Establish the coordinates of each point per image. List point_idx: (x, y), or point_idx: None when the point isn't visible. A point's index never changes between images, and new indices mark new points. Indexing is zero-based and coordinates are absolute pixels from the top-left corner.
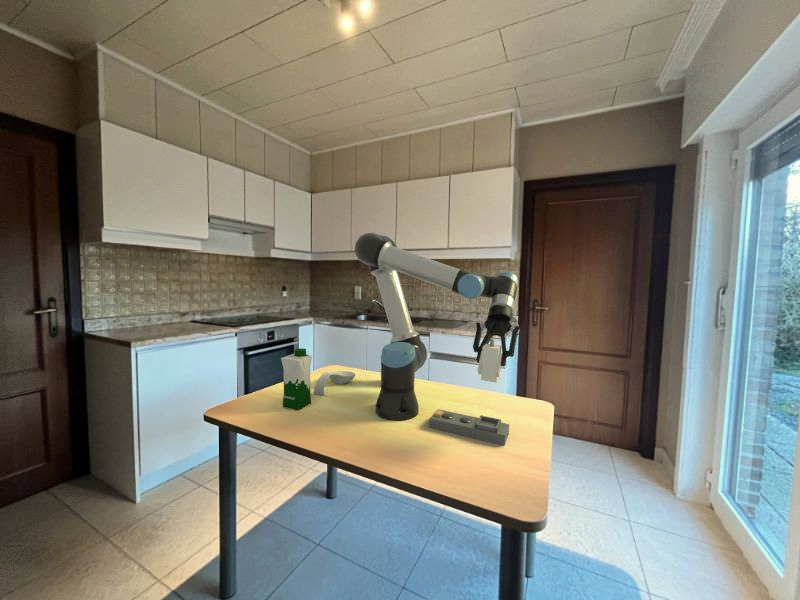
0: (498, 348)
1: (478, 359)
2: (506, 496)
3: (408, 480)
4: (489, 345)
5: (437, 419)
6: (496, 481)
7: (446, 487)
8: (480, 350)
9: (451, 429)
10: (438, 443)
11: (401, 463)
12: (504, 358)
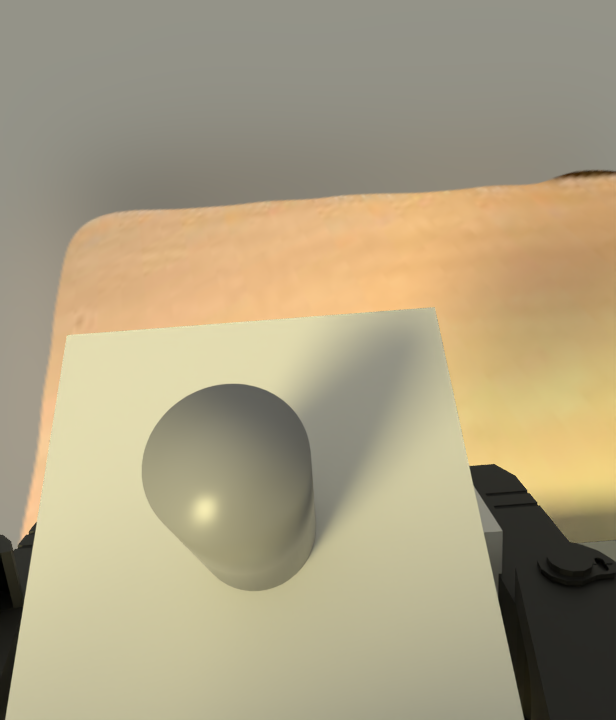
0: (62, 367)
1: (473, 474)
2: (158, 266)
3: (436, 195)
4: (346, 580)
5: (607, 550)
6: (197, 313)
7: (327, 220)
8: (535, 545)
9: None
10: (486, 426)
11: (511, 244)
12: (24, 559)
